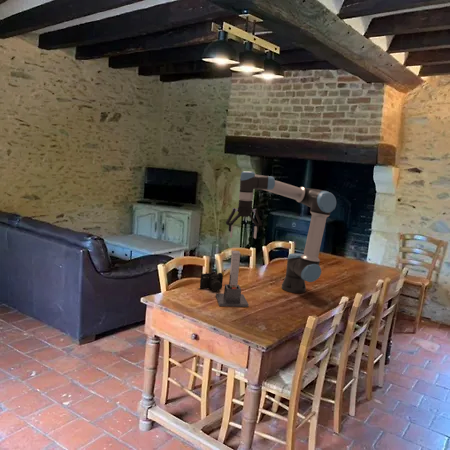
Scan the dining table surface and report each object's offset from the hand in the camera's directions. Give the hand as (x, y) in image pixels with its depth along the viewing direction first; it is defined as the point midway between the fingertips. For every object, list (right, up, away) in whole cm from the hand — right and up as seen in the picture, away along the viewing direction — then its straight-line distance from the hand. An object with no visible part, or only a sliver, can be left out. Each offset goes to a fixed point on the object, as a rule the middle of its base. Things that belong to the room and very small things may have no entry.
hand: (242, 237), depth 233 cm
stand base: (-6, -36, +2) cm, 36 cm away
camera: (-18, -32, +19) cm, 41 cm away
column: (-6, -28, +1) cm, 29 cm away
